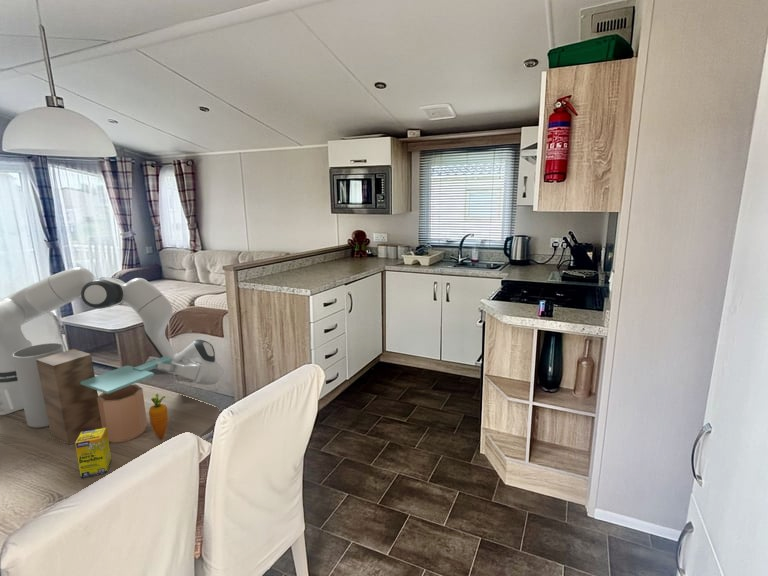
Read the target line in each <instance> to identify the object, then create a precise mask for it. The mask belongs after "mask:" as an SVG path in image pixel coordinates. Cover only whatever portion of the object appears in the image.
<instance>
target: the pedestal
mask: <svg viewBox="0 0 768 576" xmlns="http://www.w3.org/2000/svg"><path fill="white" fill-rule="evenodd" d="M36 362H37V367H38V372H39V377H40V382H41V387H42V392H43V397H44V402H45V407H46V412H47V417H48V422H49V426H48V427H49V431H50V436H51V437H52V438H54V439H55V440H58V441H60V440H61V441H60V442H62V441H63V442H62V443H64V442H65V443H64V444H66V445H68V446H69V445H72V444H74V443H75V442H74V441H76V440H77V439H78V437H79V435H80V433H81V432H83V431H90V430H96V429H101V428H102V424H101V418H100V412H99V406H98V400H97V397H98V396H99V394H98V390H95V389H92V388H90V387H87V386H84V385H81V383H80V382H81V381H84V380H87V379H90V378H93V377H95V376H96V375H95V370H94V362H93V356H92V354H91V353H89V352H84V351H81V350H78V349H75V348H72V349H69V350H65V351H64V352H61V353H58V354H54V355H51V356H47V357H44V358H40V359H37V360H36ZM73 442H74V443H73ZM71 443H72V444H71Z"/></svg>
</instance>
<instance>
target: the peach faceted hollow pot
mask: <svg viewBox="0 0 768 576" xmlns="http://www.w3.org/2000/svg"><path fill="white" fill-rule="evenodd" d="M97 400H98V406H99V412H100V418H101V424H102V428H105V427H106V428H107V435H108V441H109V443H113V444H115V443H117V444H119V443H124V442H127V441H131V440H133V439H136V438H138V437H139V436H141V435H143V433H144V432H146V430H147V426H148V420H147V413H146V412H147V411H146V406H145V398H144V390H143V387H141V386H139V385H138V384H136V383H134V384H132V385H129V386H127V387H124V388H122V389H119V390H117V391H114V392H112V393H109V394H106V393H103V392H101V394H98V397H97Z"/></svg>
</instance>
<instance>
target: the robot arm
mask: <svg viewBox="0 0 768 576" xmlns="http://www.w3.org/2000/svg"><path fill="white" fill-rule="evenodd" d="M94 275H95V274H93V272H92V271H91V270H89V269H87V268H86V267H82V266H77V267H76V266H75V267H73V268H72V267H71V268H68V269H64V270H62V271H60V272H57V273H55V274H52V275H49V276H47V277H45V278H43V279H41V280H39V281H37V282H34V283H33V284H30V285H28V286H26V287H25V288H22V289H20V290H18V291H16V292H15V293H11V294H9V295H7V296H5V297H3V298H0V416H6V415H8V414H11V413H14V412H17V411H21V410H24V407H23V402H22V397H21V393H20V388H19V383H18V378H17V374H16V369H15V364H14V360H13V353H14V352H16V351H18V350H21V349H23V348H27V347H31V346H33V343H32V342H31V341H30V339H27V338H26V336H25V335H24V333H23V331H22V327H21V326H23V325H24V324H26V323H28V322H30V321H33V320H34V319H37V318H40V317H42V316H45V315H46V314H49V313H51V312H53V311H54V310H57V309H59V308H61V307H63V306H65V305H68V304H70V303H73V302H74V301H75V300H77V299H80V298H81V300H82V301H83V302H84V304H85V305H87V306H88V307H90V308H93V309H99V310H101V309H102V310H103V309H107V308H108V309H109V308H112V307H113V308H114V307H116V306H118V305H122V304H126V305H128V306H129V307H130V308H131V309H132V310H133V311H135V313H137V315H138V316H139V318H140V319H141V321H142V323H143V326H144V327H143V332H144V334H145V337H146V338H147V340H148V341H149V343H150V344H151V346H152V347H153V348H154V350H155V351H156V352H157V354H158V355H159V357H157V356H149V357H148V359H147V360H146V361H145V363H148V362H151V361H153V360H156V359H159V358H161V357H164V356H165V357H169V358H172V362H170V363H167V364H164V363H159V362H158V363H157V364H156V368H154V370H159V371H163V372H166V373H169V374H170V375H171V376H172V377H173V378H174V379H175V381H178V382H182V383H189V384H191V383H192V384H193V383H195V384H198V385H203V386H204V385H206V386H211V385H216V384H218V383H219V382H220V381H221V380H222V379H223V376H224V375H225V369H224V367H223V366H222V364H221V363H219V362H218V360H217V359H216V354H215V349H214V346H213V345H212V343H210V342H209V341H206V340H204V339H195V340H194V341H193V342H191V343H190V344H189V345H187V346H186V347H185V348H184V349H182V351H180V352H179V353H178V352H177V351H176V350H175V349H174V347H173V345H172V344H171V342H170V341H169V339H168V338H167V337H166V329H167V326H168V324H169V322H170V320H171V318H172V315H173V306H172V303H171V302H170V301H169V299H168V298H167V297H166V296H165V295H164V294H163V293H162V292H161V291H160V290H159V289H158V288H157V287H156V286H155V285H153V283H151V282H149V281H148V280H147V279H145V278H142V277H135V278H132V279H130V280H129V281H125V280H124V279H122V278H118V277H100V278H98V277H96V276H94Z"/></svg>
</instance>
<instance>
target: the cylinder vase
mask: <svg viewBox="0 0 768 576" xmlns="http://www.w3.org/2000/svg"><path fill="white" fill-rule="evenodd" d="M61 352H65V351H64V347H63V344H61V343H54V342H53V343H50V342H49V343H42V344H36V345H32V346H31V347H27V348H23V349H21V350H18V351H16V352H14V353H13V360H14V364H15V369H16V374H17V378H18V383H19V388H20V393H21V397H22V402H23V407H24V409H23V410H24V411H23V412H24V415H25V416H24V417H25V421H26V424H27V426H28V427H31V428H35V429H37V428H46V427H49V422H48V417H47V412H46V407H45V402H44V397H43V392H42V387H41V382H40V377H39V372H38V367H37V362H36V360H37V359H40V358H44V357H47V356H51V355H54V354H58V353H61Z"/></svg>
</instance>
